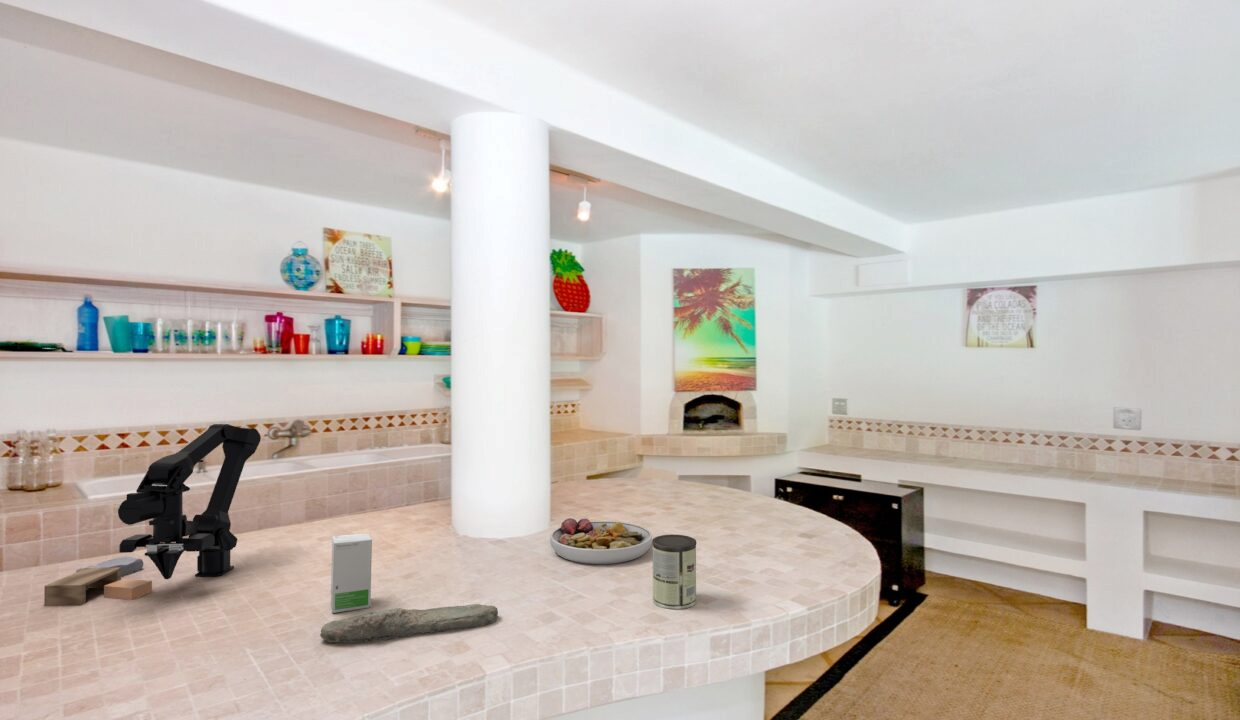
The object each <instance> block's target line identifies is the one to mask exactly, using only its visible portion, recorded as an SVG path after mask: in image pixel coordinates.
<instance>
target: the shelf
mask: <svg viewBox="0 0 1240 720" xmlns="http://www.w3.org/2000/svg"><path fill="white" fill-rule="evenodd" d="M119 580H122V577H121V567H117V568H86V569H84V570H81V571H79V572H76V571H75V572H74V573H72V574H70V575H67V576H65V577H61V578H60V579H58V580H55V581H52V582H50V583H47V584H45V585H44V586H43V587H44V593H43V596H44V597H43V598H44V600H43V601H44V606H47V605H48V606H49V607H50V606H82V605H84V604H86V601H87V599H86V593H87V592H86V591H88V590H89V589H97V588H99V589H100V588H101V589H102V588H103V589H104V586H105V585H108V584H111V583H113V582H116V581H119Z"/></svg>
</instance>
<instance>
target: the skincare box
mask: <svg viewBox="0 0 1240 720" xmlns="http://www.w3.org/2000/svg"><path fill="white" fill-rule="evenodd" d="M331 541H332V543H331V575H330V576H331V578H330V579H331V580H330V581H331V582H330V607H331V609H330V610H331V613H332V614H336V613H341V612H348V611H355V610H362V609H369V608H371V606H372V604H371V600H372V599H371V597H372V596H371V595H372V593H371V592H372V563H373V561H372V557H373V555H372V553H373V552H372V551H373V538H372V536H371V534H370V533H355V534H354V533H352V534H345V535H333V536H332V537H331Z"/></svg>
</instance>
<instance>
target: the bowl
mask: <svg viewBox="0 0 1240 720" xmlns="http://www.w3.org/2000/svg"><path fill="white" fill-rule="evenodd" d="M652 540H653V533H652V532H651V531H650V530H649V529H647V528H645V527H643V526H640V525H637V524H634V523H630V522H629V523H628V522H623V521H613V520H612V521H609V520H606V521H605V520H600V521H599V520H598V521H597V520H596V521H594V520H593V521H590V520H589V519H588V518H581V519H579V520H578V521H577V520H576V519H574V518H571V517H569V518H567V519H565V520H564V521H562V523H561V526H560V527H558V528H556V529H554V530H553V531H551V533H550V536H549V541H550V546H551V548H552V549H553V551H554V552H555V553H556V555H558V556H560V557H562V558H563V559H565V560H568V561H571V562H575V563H581V564H587V565H612V564H613V565H614V564H621V563H625V562H626V563H627V562H630V561H633V560H636V559H638V558H640V557H642V556H643V555H645V554H646V553H647V552H648V551H649V550H650V548H651V546H652Z"/></svg>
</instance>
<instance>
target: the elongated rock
mask: <svg viewBox="0 0 1240 720" xmlns="http://www.w3.org/2000/svg"><path fill="white" fill-rule="evenodd" d="M498 616H499V609H498V607H497V606H495V605H487V604H481V603H475V604H465V605H454V606H442V607H435V608H426V609H405V608H402V607H400V608H399V607H395V608H391V609H384V610H378V611H369V612H367V613H364V614H359V615H354V616H351V617H347V618H343V619H342V618H340V619H339V620H332V621H330V622H327V623H325V624H323V625H322V627H321V630H320V634H319V635H320V637H321V639H322V640H325V641H327V642H328V643H346V644H348V643H350V644H351V643H353V644H357V643H365V642H373V643H377V642H380V641H388V640H389V639H390V640H391V639H394V638H396V639H397V638H402V637H409V636H412V635H415V634H417V633H424V634H425V633H427V632H429V633H430V634H434V633H436V632H440V631H451V630H453V631H454V630H455V631H456V630H464V629H465V630H466V629H472V628H476V627H480V626H481V627H482V626H485V625H490V624H493V623H494V622H496V621H497V620H498Z"/></svg>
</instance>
